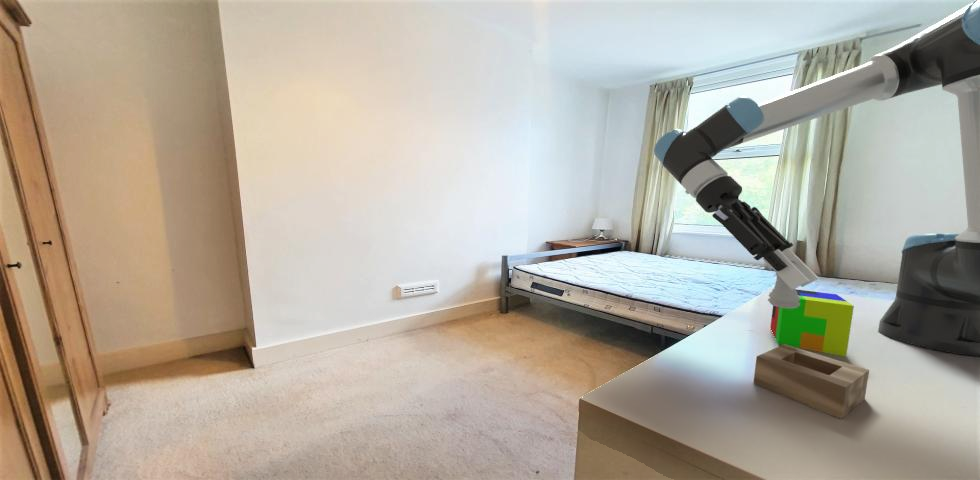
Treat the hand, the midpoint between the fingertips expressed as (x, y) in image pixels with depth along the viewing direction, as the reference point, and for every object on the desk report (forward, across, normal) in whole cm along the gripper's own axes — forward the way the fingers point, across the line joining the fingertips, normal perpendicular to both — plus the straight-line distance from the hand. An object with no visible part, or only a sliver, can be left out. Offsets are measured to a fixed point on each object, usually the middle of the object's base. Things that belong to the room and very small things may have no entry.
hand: (805, 283), depth 57 cm
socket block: (+13, +8, -8) cm, 17 cm away
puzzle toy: (+8, -17, -14) cm, 23 cm away
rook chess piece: (+1, -1, -5) cm, 6 cm away
